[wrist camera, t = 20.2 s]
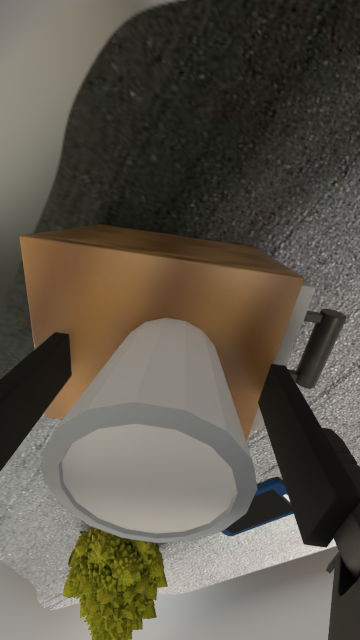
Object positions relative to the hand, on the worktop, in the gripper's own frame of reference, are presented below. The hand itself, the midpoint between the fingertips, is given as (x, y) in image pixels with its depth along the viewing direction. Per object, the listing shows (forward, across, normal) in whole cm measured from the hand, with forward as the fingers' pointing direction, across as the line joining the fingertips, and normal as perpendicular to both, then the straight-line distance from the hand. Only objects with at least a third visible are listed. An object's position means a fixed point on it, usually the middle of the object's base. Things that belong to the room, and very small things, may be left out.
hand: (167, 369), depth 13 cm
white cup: (+1, 0, 0) cm, 1 cm away
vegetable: (+12, -3, -42) cm, 44 cm away
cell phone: (+12, +15, -31) cm, 36 cm away
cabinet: (+11, -1, 0) cm, 12 cm away
